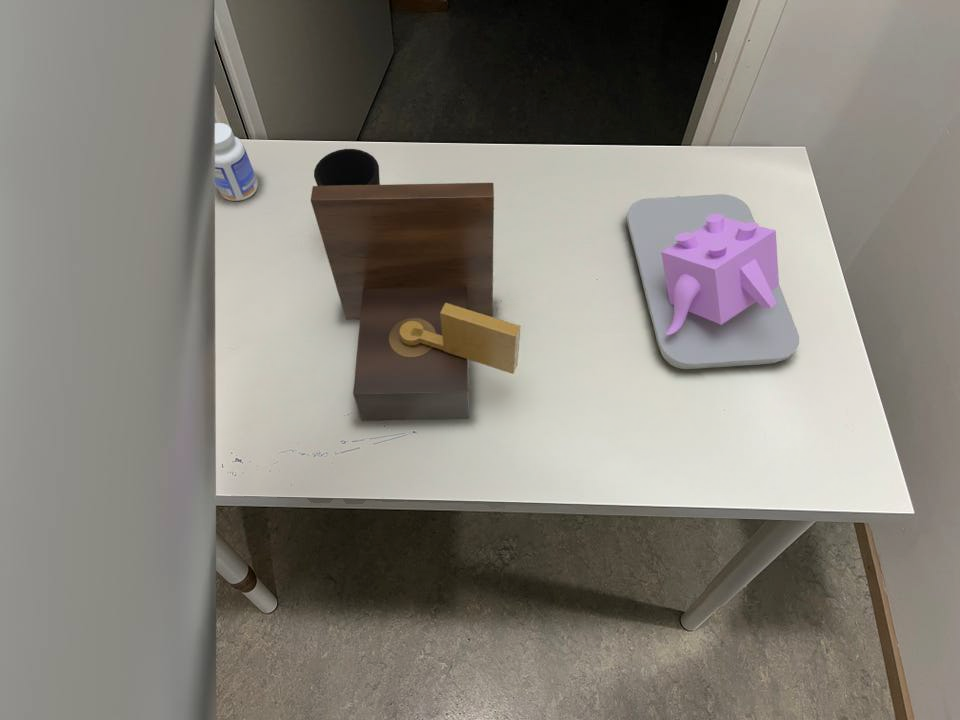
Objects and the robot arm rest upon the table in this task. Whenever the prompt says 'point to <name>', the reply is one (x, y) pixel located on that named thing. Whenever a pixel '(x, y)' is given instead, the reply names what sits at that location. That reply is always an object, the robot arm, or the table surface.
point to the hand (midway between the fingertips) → (142, 322)
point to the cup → (347, 169)
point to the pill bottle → (232, 166)
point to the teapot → (720, 270)
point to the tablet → (698, 339)
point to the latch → (470, 337)
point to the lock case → (408, 286)
